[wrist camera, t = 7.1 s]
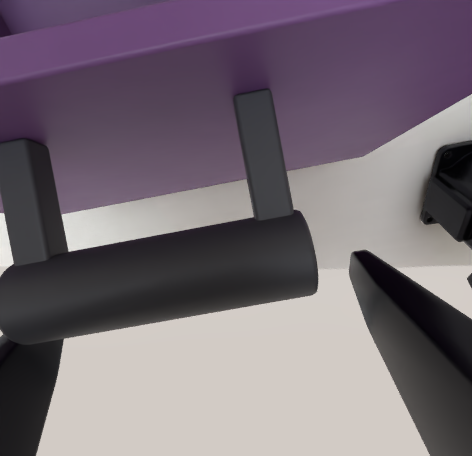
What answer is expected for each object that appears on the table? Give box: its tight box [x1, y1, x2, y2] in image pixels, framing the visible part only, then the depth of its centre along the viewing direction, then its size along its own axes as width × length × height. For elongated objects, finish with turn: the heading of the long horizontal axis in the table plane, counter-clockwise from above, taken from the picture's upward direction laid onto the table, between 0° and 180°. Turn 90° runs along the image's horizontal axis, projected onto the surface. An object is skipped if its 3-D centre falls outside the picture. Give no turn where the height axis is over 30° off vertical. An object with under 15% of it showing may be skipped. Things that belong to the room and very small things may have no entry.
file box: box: [0, 0, 170, 38], centre depth 14 cm, size 12×17×4 cm
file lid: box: [0, 0, 472, 345], centre depth 10 cm, size 12×17×4 cm
